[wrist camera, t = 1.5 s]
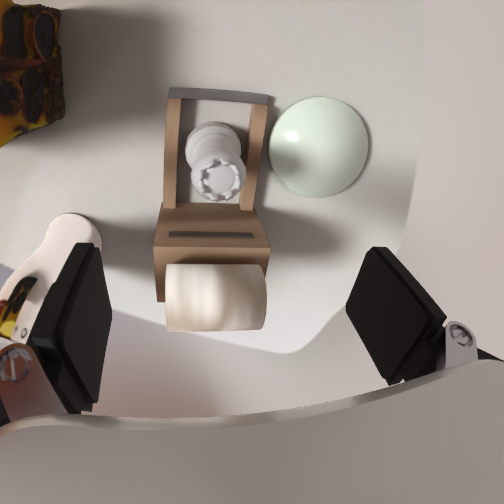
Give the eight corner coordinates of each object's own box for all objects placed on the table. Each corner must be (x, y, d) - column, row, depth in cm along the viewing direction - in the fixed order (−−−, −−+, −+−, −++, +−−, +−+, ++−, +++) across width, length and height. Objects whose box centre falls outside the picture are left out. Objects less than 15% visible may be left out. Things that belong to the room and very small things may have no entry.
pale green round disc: (276, 87, 21) (280, 88, 20) (371, 109, 23) (377, 110, 22) (260, 189, 25) (262, 194, 25) (349, 197, 27) (354, 201, 27)
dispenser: (166, 87, 19) (139, 98, 10) (269, 95, 21) (330, 116, 12) (162, 250, 27) (154, 347, 18) (245, 251, 29) (272, 344, 20)
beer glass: (103, 208, 24) (43, 343, 11) (110, 271, 27) (79, 406, 15) (39, 208, 22) (-43, 325, 10) (51, 268, 26) (1, 389, 13)
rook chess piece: (249, 135, 23) (274, 164, 16) (223, 181, 24) (235, 227, 18) (200, 111, 21) (202, 129, 14) (175, 160, 23) (167, 199, 16)
